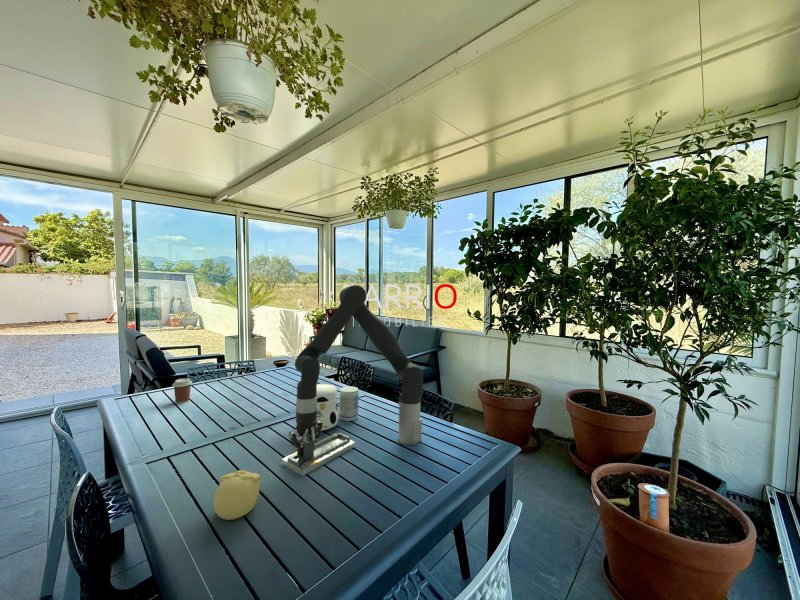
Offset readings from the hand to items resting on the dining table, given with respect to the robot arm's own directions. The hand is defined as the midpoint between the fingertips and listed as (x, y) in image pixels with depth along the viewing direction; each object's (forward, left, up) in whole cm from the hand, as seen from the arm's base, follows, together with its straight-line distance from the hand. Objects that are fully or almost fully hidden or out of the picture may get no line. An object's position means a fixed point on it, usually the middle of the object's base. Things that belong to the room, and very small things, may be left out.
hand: (306, 453), depth 117 cm
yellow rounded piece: (-5, +28, -4) cm, 29 cm away
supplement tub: (+17, -39, -4) cm, 43 cm away
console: (0, -7, -3) cm, 8 cm away
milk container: (+20, -23, -4) cm, 31 cm away
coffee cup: (+104, +4, -4) cm, 104 cm away
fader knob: (0, 0, -1) cm, 1 cm away
